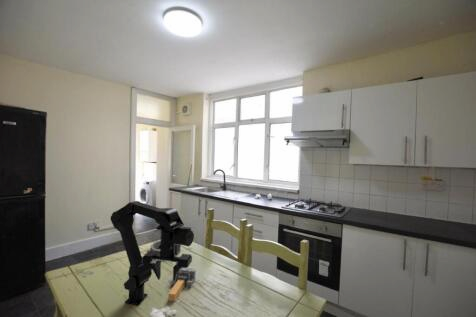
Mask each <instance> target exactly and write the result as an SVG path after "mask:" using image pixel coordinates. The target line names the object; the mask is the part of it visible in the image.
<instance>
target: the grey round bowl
mask: <svg viewBox="0 0 476 317" xmlns="http://www.w3.org/2000/svg"><path fill="white" fill-rule="evenodd" d="M159 246H160V240H156V241H155V242H153V243H151V245H150V247H149V248H150V251H157V252H158V255H160V249H159ZM180 249H182V248H181V247H180ZM180 252H181V251H180ZM180 252H178V254H177V255H175V257H177V256H178V255H179V254H180Z"/></svg>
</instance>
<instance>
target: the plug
mask: <svg viewBox="0 0 476 317" xmlns="http://www.w3.org/2000/svg"><path fill="white" fill-rule="evenodd" d="M189 277H190V273H189V272H181V273H180V275H179V276H178V278H177V282H176V284H175V285H172V287H171V289H170V291H169V292H168V294H167V295H168V298H167V299H168V301H170V302H176V300H177V298H179V296H180V294H181V293H182V291H183V289H184V288H185V287H187V281H188V279H189Z"/></svg>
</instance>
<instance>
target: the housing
mask: <svg viewBox="0 0 476 317" xmlns="http://www.w3.org/2000/svg"><path fill="white" fill-rule="evenodd" d="M181 272H189V273H190V276H189V279H188V281H187V285H186V287H187V288H192V286H193V285H194V283H195V281H196V272H197V271H196V268H189V267H187V268H181V269H179V272H178V275H177V277H176V280H175V281H173V277H172V278H171V279H170V285H171V286H174V285H175V284H176V282H177V278H178V276H179V275H180V273H181Z"/></svg>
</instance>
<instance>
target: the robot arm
mask: <svg viewBox="0 0 476 317" xmlns="http://www.w3.org/2000/svg"><path fill="white" fill-rule="evenodd" d="M136 214H138V215H141V216H144V217H147V218H149V219H152V220H154V221H155V223H156V224H158V225H157V227H156V228H155V229H156V230H159V231H160V240H159V241H160V246H159V249H158V250H160V255H158V252H157V251H149V252H148V253H147V252H146V253H145V254H144V255H142V254H141V253H142V252H141V250H140V248H139V244H138V241H137V237H136V235H135V232H134V228H133V225H134V223H135V222H134V221H135V218H134V216H135V215H136ZM110 222H111V224H112V225H113V228H114V229H115V230H117V231H118V232H119V234H120V236H121V240H122V244H123V247H124V250H125V252H126V255H127V261H128V262H129V267H128V268H129V269H128V272H127V273H128V279H127V281H125V282H124V283H123V288H124V290H127V291H128V298H127V299H126V300H125V301H124V303H125V304H129V305H135V306H136V305H137V306H139V305H141V303H142V302H143V301H144V300H145V298H147V297H148V293H145V284H146V283H147V282H148V281H150V280H149V279H150V278H151V276H152V274H153V273H154V275H155V277H156V279H157V280H158V281H159V280H160V279H161V274H162V272H161V269H162V268H161V267H162V266H161V265H162V262H170V263H171V262H172V263H175V265H174V266H173V267H172V278H173V281H175V280H176V277H177V275H178V272H179V269H181V268H189V266H190V265H191V263H192V262H193V256H192V254H188V253H182V254H181V255H180V256H178V255H179V254H178V252H181V248H180V247H181V246H185V247H190V246H192V244H193V241H194V238H195V235H194V231H193V230H192V227H191V226H184V225H185V224H184V222H183V220H182V218H181V216H180V215H179V212H178V210H177V209H176V208H169V207H163V208H161V207H156V206H153V205H151V204H148V203H147V204H146V203H144V202H141V201H139V200H134V201H131V202H130V201H129V202H128V203H126V204H125V205H124V206H123V207H121V208H119V209H118V210H115V211H113V212H112V214H111V216H110ZM177 254H178V255H177ZM175 255H176V256H175ZM142 256H143V258H142ZM152 272H153V273H152Z"/></svg>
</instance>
